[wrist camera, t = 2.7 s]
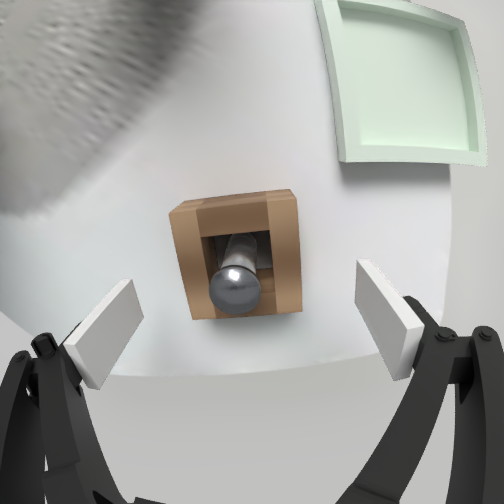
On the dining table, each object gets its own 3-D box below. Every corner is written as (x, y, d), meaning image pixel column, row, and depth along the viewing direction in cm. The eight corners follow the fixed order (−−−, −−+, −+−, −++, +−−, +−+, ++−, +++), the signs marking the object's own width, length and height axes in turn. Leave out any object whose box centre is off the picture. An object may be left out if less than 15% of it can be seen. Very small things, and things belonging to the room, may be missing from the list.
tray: (338, 160, 19) (346, 162, 18) (313, -2, 14) (317, -13, 12) (473, 164, 18) (487, 166, 17) (452, 26, 13) (463, 21, 12)
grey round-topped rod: (227, 262, 23) (213, 316, 15) (222, 229, 22) (204, 271, 14) (262, 259, 22) (263, 312, 15) (258, 225, 21) (257, 266, 14)
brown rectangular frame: (184, 201, 21) (168, 213, 17) (289, 189, 20) (296, 198, 17) (205, 308, 24) (197, 336, 20) (296, 301, 24) (302, 329, 20)
